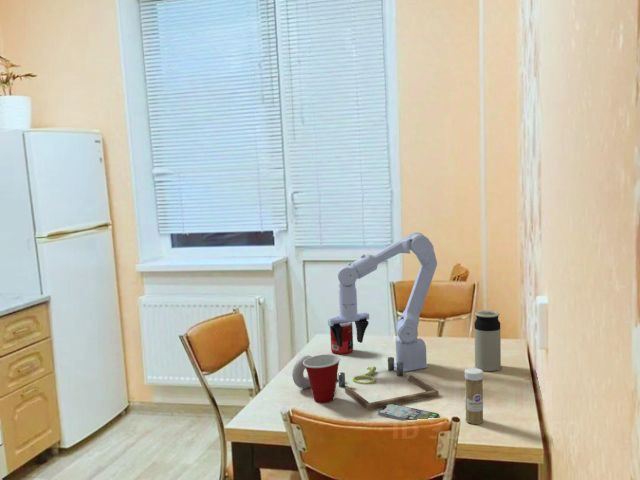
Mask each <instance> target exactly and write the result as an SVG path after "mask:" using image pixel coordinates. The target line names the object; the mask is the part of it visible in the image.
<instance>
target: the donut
mask: <svg viewBox="0 0 640 480" xmlns="http://www.w3.org/2000/svg"><path fill="white" fill-rule="evenodd" d="M309 357H313V356H312V355H310V354H308V355H307V354H306V355H303V356H301V357H299V358H298V359H297V360H296V362H295V363H294V364H293V368H292V375H291V376H292V380H293V382H294V385H295V386H297V387H298V388H300V389H308V388H311V386H310V381H309V377H308V373H307V374H306V375H304V373H305V372H304V371H306V367H305V366H304V364H303V361H304V360H305V359H307V358H309Z"/></svg>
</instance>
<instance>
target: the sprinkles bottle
mask: <svg viewBox="0 0 640 480" xmlns="http://www.w3.org/2000/svg"><path fill="white" fill-rule="evenodd" d="M464 379H465V384H464V385H465V388H464V389H465V391H464V393H465V394H464V395H465V396H464V398H465V399H464V402H465V408H464V409H465V421H466V423H468V424H473V425H479V424H482V423H483V422H484V389H483V388H484V387H483V379H484V371H482V370H481V369H477V368H476V367H469V368H466V369H465V370H464Z"/></svg>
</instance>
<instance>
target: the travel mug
mask: <svg viewBox="0 0 640 480" xmlns="http://www.w3.org/2000/svg"><path fill="white" fill-rule="evenodd" d="M474 314H475V317H476V318H475V321H474V325H473V326H474V368H477V369H481V370H482V371H483V372H489V371H491V372H496V371H498V370H500V369H501V368H502V366H501V365H502V364H501V362H502V361H501V357H502V355H501V354H502V353H501V339H502V338H501V322H500V320H499V316H500V312H498V311H495V310H479V311H475V313H474Z"/></svg>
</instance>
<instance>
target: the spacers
mask: <svg viewBox="0 0 640 480" xmlns="http://www.w3.org/2000/svg"><path fill="white" fill-rule="evenodd" d="M394 363H395V358H394V356H393V357H392V356H388V357H387V371H389V372H394V371H395V367H394ZM396 376H397V377H403V376H404V372H403V363H402V362H398V363H397V368H396ZM337 381H338V387H339V388H345V387H346V373H345V372H337Z"/></svg>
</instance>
